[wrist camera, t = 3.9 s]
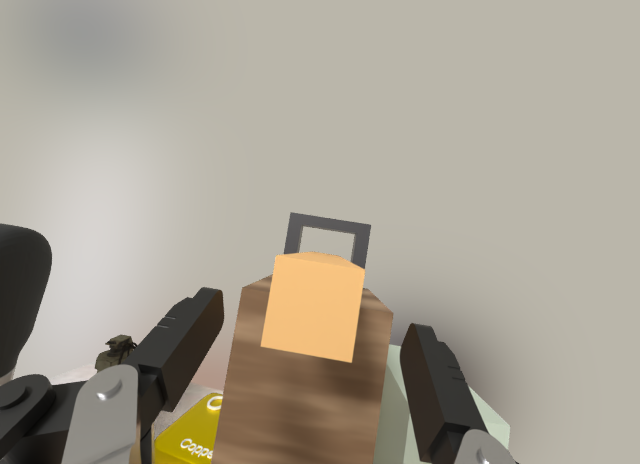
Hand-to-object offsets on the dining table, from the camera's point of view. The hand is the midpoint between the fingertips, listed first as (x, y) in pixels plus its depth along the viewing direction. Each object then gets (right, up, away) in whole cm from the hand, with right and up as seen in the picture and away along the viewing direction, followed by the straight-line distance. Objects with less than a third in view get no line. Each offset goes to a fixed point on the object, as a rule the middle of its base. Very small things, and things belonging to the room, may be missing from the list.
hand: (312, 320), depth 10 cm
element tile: (-17, -34, +31) cm, 49 cm away
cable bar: (0, -2, +11) cm, 11 cm away
